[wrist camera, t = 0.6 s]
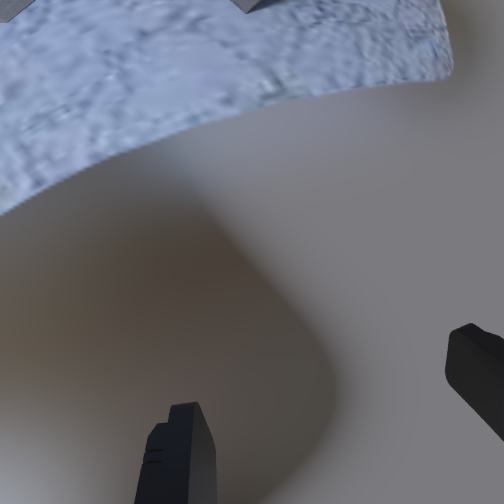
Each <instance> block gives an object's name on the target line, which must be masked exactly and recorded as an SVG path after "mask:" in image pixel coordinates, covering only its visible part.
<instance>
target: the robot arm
mask: <svg viewBox="0 0 504 504" xmlns="http://www.w3.org/2000/svg"><path fill="white" fill-rule="evenodd" d="M445 375H446V379H447V381H448V383H449V385H450V386H451V387H452V388H453V389H454V390H455V391H456V392H457V393H458V394H459V395H460V396H461V397H462V398H463V399H464V400H465V401H466V402H467V403H468V404H469V405H470V406H471V407H472V408H473V409H474V410H475V411H476V412H477V414H478V415H479V416H480V417H481V418H482V419H483V420H484V421H485V422H486V423H487V424H488V425H489V426H490V427H491V428H492V429H493V430H494V432H495V433H496V434H497V435H498V436H499V437H500V438H501V439H502V440H503V441H504V339H503V338H501V337H500V336H498V335H495V334H492V333H489V332H485V331H484V330H482V329H481V328H479V327H477V326H476V325H474V324H473V323H469V324H467V325H464V326H462V327H460V328H457V329H455V330H453V331H452V332H451V333H450V335H449V342H448V351H447V359H446V366H445ZM145 451H146V453H144V457H143V464H142V467H141V471H140V476H139V481H138V486H137V492H136V497H135V502H134V504H217V480H216V479H217V478H216V450H215V445H214V441H213V438H212V435H211V432H210V430H209V427H208V425H207V423H206V420H205V418H204V415H203V413H202V410H201V408H200V405H199V404H198V403H197V402H191V403H183V404H176V405H172V406H171V408H170V413H169V419H168V423H158V424H157V425H156V426H155V428H154V429H153V430H152V432H151V433H150V434H149V436H148V439H147V444H146V448H145Z"/></svg>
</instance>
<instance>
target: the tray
mask: <svg viewBox="0 0 504 504" xmlns="http://www.w3.org/2000/svg"><path fill="white" fill-rule="evenodd" d="M231 1H232V2H233V3H234V4H235V5H236V6H238V7H239V8H240V9H241V10H242V11H243V12H244V13H245V14H247V13H248V12H249V11H250V10H252V9H253V8H254V7H255V6H257V5H258V4H259V3H261V2H262V1H263V0H231Z"/></svg>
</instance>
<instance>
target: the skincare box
mask: <svg viewBox="0 0 504 504" xmlns="http://www.w3.org/2000/svg"><path fill="white" fill-rule="evenodd" d="M33 1H34V0H0V22H1V23H7V22H8V21H10V20H11V19H12V18H13V17H14V16H15V15H17V14H18V13H19V12H20V11H21V10H23V9H24V8H25V7H26V6H28V5H29V4H30V3H31V2H33Z"/></svg>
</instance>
